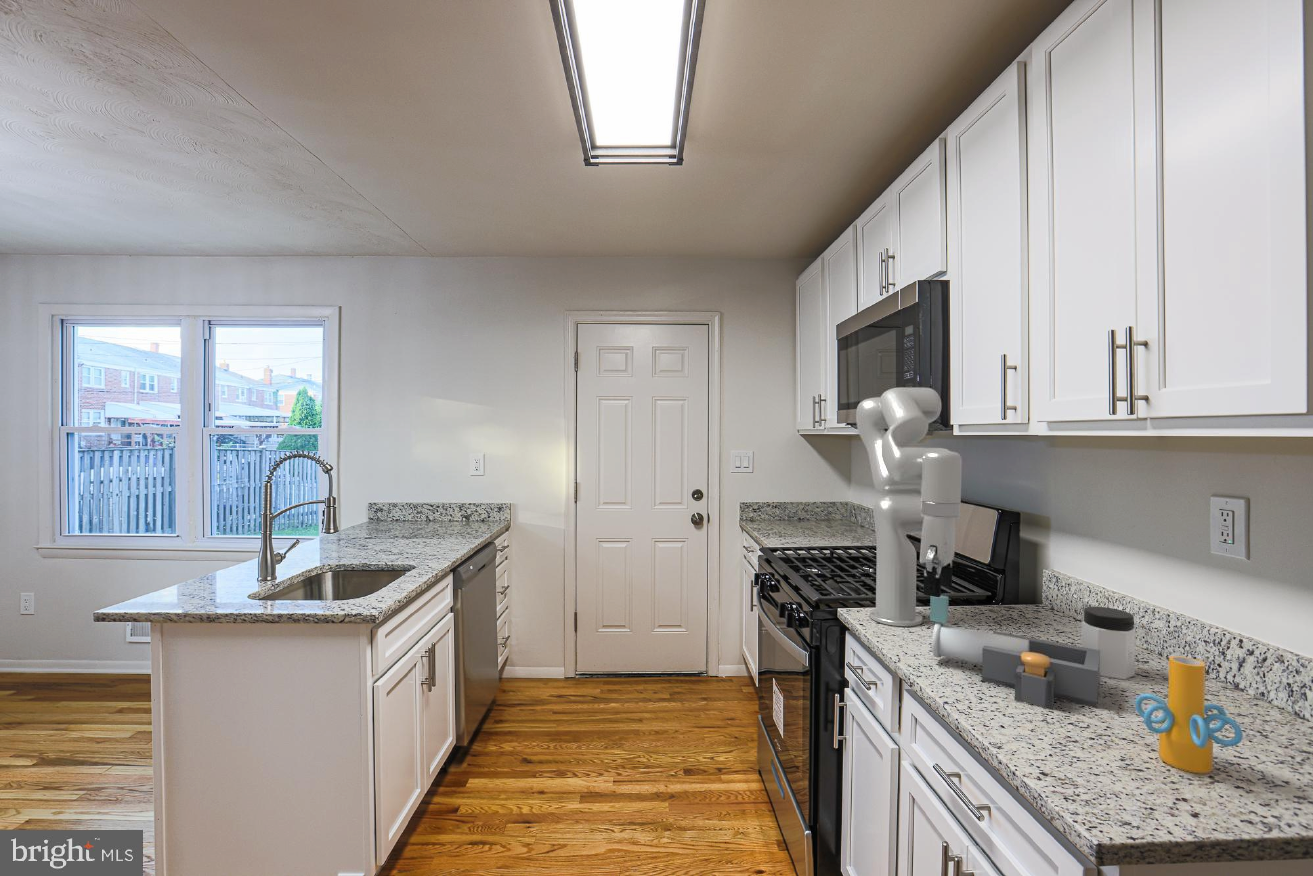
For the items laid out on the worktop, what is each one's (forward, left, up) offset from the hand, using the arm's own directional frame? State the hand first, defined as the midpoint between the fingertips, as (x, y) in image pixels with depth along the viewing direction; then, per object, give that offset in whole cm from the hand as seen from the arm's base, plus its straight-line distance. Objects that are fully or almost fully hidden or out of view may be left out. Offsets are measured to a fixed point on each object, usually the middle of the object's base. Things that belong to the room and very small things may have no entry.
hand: (938, 590), depth 130 cm
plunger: (+10, +19, -14) cm, 25 cm away
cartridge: (+1, +8, -14) cm, 16 cm away
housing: (+4, +19, -15) cm, 24 cm away
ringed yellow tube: (+21, +39, -15) cm, 47 cm away
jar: (-15, +29, -15) cm, 36 cm away
